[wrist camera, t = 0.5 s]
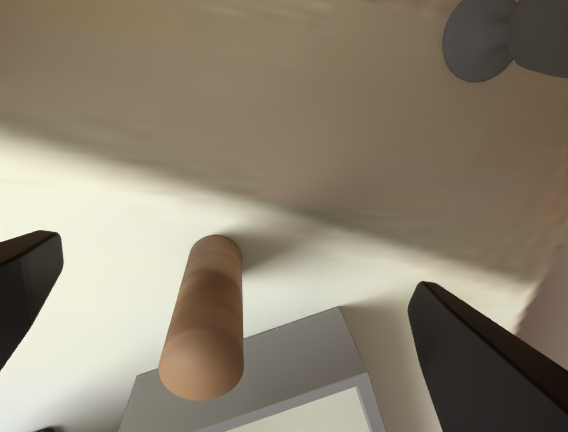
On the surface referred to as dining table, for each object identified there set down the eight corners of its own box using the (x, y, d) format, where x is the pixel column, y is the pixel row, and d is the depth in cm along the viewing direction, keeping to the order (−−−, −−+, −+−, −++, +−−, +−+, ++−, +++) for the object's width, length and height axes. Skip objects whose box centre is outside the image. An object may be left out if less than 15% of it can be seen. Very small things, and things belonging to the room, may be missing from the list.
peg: (201, 288, 25) (179, 410, 16) (180, 245, 24) (143, 351, 14) (248, 271, 25) (255, 384, 16) (230, 228, 24) (226, 323, 14)
